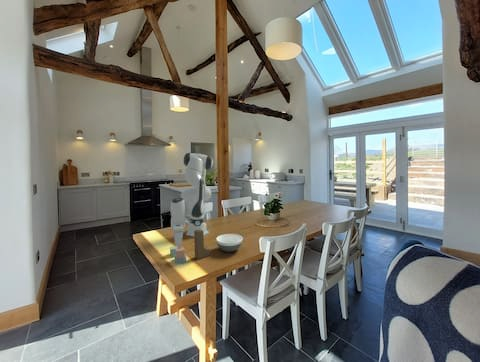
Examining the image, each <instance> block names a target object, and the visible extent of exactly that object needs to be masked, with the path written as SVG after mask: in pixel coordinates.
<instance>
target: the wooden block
mask: <svg viewBox="0 0 480 362" xmlns="http://www.w3.org/2000/svg"><path fill="white" fill-rule="evenodd" d="M204 236H205V235H204V233H203V230H201V229H199V230H195V231H194V238H193V240H194V258H196V259H197V260H200V259H204V258H206V257H208V256H209V257H210V256H211V249H210V248H209V247H206V246H205V241H204V240H205V239H204Z"/></svg>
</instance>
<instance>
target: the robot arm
mask: <svg viewBox="0 0 480 362" xmlns="http://www.w3.org/2000/svg"><path fill="white" fill-rule="evenodd" d="M182 161H183V165H184V166H185V167H186V168H185V173H184V179H185V181H186V182H187V183H188V184H189V185H191V186H193V187H195V188H188V189H184V190H183V191H181V194H180V197H176V198H173V199H171V202H170V216H171V218H170V228H171V231H172V233H173V238H174V245H175V246H177V249H180V248H181V244H182V242H183V234H184V231H185V229H186V226H187V231H186V232H185V235H186V236H187V237H192V238H193V237H194V231H195V230H199V229H201V230H203V233H204V236H206V235H208V234H210V233H209V232H210V231H208V230H207V223H206V222H205V216H204V213H205V201H207V200H210V199H211V197H212V191H211V190H210V188H209V187H208V186H207V185H206V174H207V170H211V169H212V167H213V166H214V159H213V157H212V156H211V155H206V154H204V153H203V154H202V153H191V152H186V153H184V156H183V160H182ZM186 217H190V218H189V224H186V223H187V221H186Z"/></svg>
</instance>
